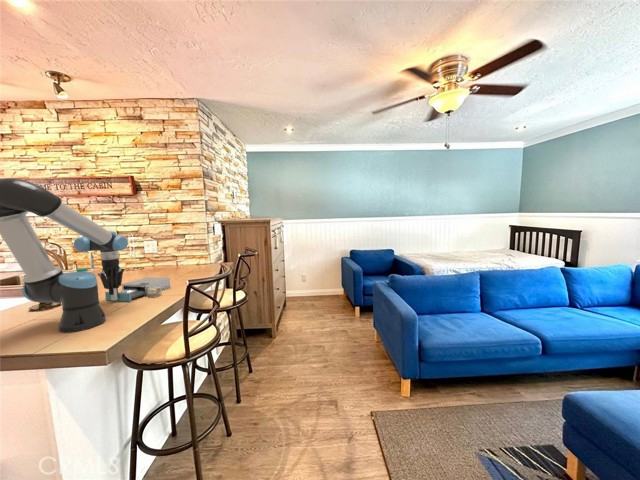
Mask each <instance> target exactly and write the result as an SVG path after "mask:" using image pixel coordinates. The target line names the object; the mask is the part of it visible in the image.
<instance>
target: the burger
mask: <svg viewBox="0 0 640 480" xmlns="http://www.w3.org/2000/svg"><path fill="white" fill-rule="evenodd" d="M59 307H62V303H54V302H49V303H39V302H38V304H35V305H32V306H30V307H29V308H28V309H29V310H30V312H31V313H32V312H34V313H35V312H36V311H38V312H44V311H45V310H46V311H47V310H53V309H54V308H59Z"/></svg>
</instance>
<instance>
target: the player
mask: <svg viewBox="0 0 640 480" xmlns="http://www.w3.org/2000/svg"><path fill="white" fill-rule="evenodd" d="M153 287H161V289H162V292H163V290H164V291H167V290H169V289H171V278H170V277H151V276H147V277H143V278H140V279H135V280H132V281H128V282H125V283H121V288H122V290H125V289H130V288H144V289H145V294H144V295H141V296H140V297H148V291H147V289H150V288H153ZM168 288H169V289H168ZM166 289H167V290H166ZM122 290H121V291H122Z"/></svg>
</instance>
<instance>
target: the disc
mask: <svg viewBox="0 0 640 480" xmlns="http://www.w3.org/2000/svg"><path fill="white" fill-rule="evenodd" d="M120 292H121V293H131V294H134V293H137V292H138V291H137V289H136V288H130V289H125V290H120Z"/></svg>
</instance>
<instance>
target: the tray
mask: <svg viewBox="0 0 640 480" xmlns="http://www.w3.org/2000/svg"><path fill="white" fill-rule="evenodd" d="M136 289H137V291H138V292H137V293H134V294H131V293H121V291H120V292H119V291H118V293H117V298H118V299H117V300H111V295H110V294H109V291H105V292H104V293H105V294H104V295H105V301H113V302H128V303H129V302H132V299H135V298H138V297H142V296H141V295H144V294H145V289H144V288H136Z"/></svg>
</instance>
